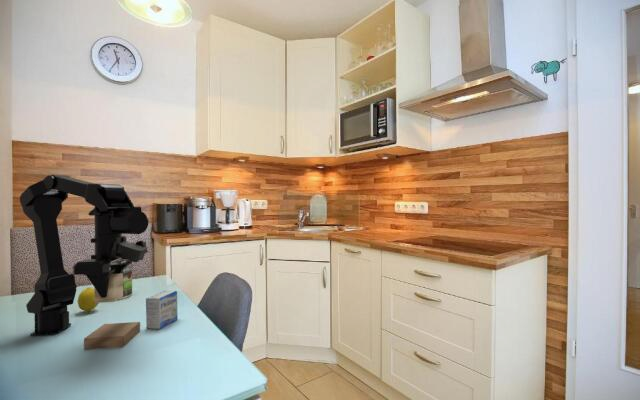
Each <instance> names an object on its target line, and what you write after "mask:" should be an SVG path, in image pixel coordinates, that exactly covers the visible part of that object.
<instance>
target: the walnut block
mask: <svg viewBox="0 0 640 400" xmlns="http://www.w3.org/2000/svg"><path fill="white" fill-rule="evenodd" d="M140 332H141V321H134V322H133V321H132V322H130V321H129V322H117V323H116V322H115V323H104V324H102V325H101V326H100V327H98V328H97V329H95V330H94V331H92V332H91V333H90V334H88V335H87V336H86V337H84V338H83V350H91V349H107V348H124V347H126V346H127V345H128V344H129V343H130V342H131V341H132V339H134V338H135V337H136V336H137V335H138V334H139V333H140Z"/></svg>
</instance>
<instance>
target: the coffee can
mask: <svg viewBox="0 0 640 400" xmlns="http://www.w3.org/2000/svg"><path fill="white" fill-rule="evenodd" d="M124 260H126V262H131V264H130V265H128V266H127V267H126V268H125V269H124V270H123V297H121V298H120V299H118V300H117V301H119V300H124V299H127V298H130V297H132V296H133V262H132V261H130V260H128V259H124Z"/></svg>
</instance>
